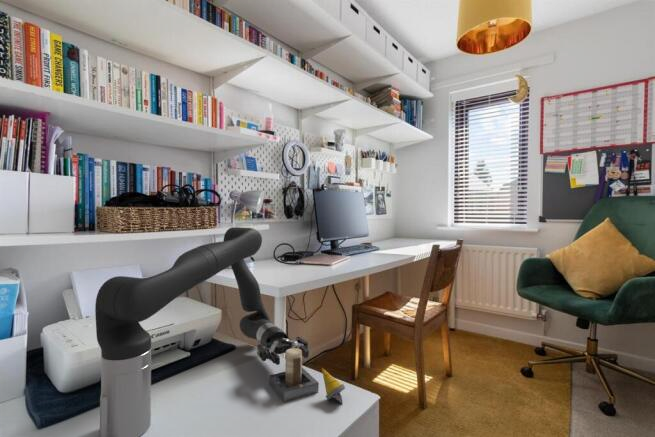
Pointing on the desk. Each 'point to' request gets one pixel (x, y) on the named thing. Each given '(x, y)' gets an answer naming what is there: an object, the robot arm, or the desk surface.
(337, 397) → the yellow spinning top
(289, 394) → the grey square tray
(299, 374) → the birch shaft
